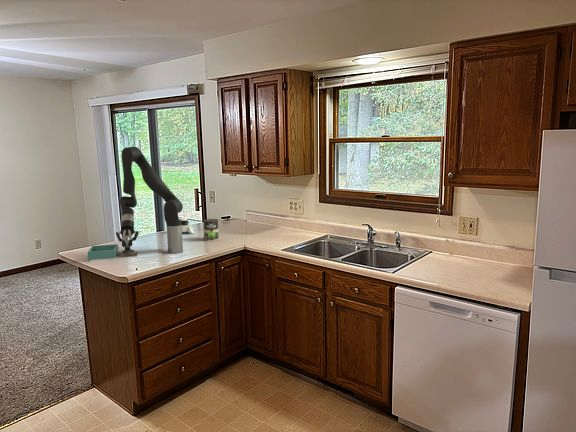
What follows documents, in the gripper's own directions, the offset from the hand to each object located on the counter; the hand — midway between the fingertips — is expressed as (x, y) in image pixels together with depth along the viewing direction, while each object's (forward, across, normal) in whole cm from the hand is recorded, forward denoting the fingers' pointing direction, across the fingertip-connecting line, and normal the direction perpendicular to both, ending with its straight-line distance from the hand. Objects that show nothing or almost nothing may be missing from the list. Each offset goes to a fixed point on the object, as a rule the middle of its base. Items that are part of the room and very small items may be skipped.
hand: (127, 246), depth 259 cm
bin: (+2, -14, +8) cm, 16 cm away
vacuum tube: (+3, 0, +6) cm, 6 cm away
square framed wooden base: (+4, 0, +6) cm, 7 cm away
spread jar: (-38, +36, +48) cm, 71 cm away
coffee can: (-19, +53, +29) cm, 63 cm away
